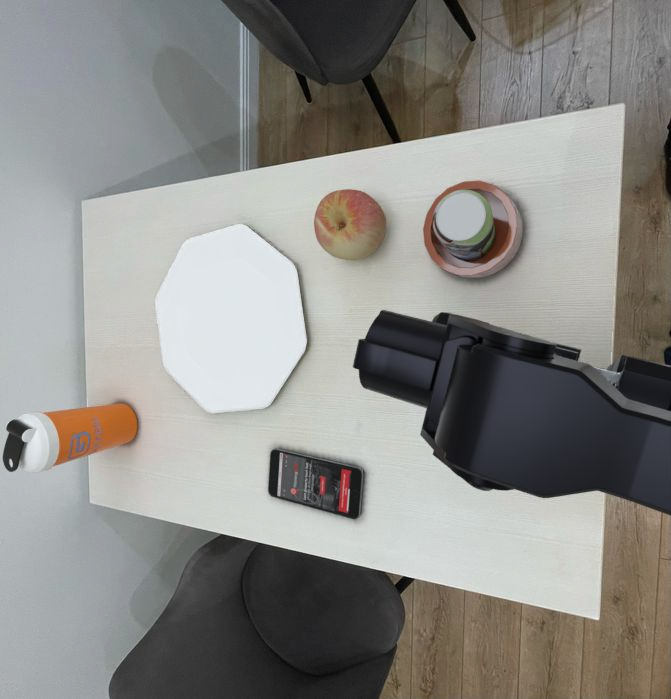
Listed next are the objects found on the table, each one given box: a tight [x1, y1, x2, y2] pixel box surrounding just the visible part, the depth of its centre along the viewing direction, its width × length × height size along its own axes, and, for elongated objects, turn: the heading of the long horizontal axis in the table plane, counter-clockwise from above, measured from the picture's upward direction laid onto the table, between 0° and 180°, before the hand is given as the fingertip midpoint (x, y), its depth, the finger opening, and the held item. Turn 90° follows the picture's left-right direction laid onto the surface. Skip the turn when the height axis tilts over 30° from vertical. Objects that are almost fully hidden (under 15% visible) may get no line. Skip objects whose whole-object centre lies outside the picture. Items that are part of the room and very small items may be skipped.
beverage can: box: [433, 190, 496, 261], centre depth 59 cm, size 6×7×12 cm
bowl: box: [422, 180, 524, 279], centre depth 63 cm, size 11×11×4 cm
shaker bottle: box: [2, 402, 139, 474], centre depth 86 cm, size 9×9×20 cm
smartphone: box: [267, 447, 365, 520], centre depth 77 cm, size 7×1×15 cm
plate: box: [154, 223, 309, 414], centre depth 82 cm, size 28×28×2 cm
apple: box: [313, 188, 387, 262], centre depth 68 cm, size 9×9×8 cm
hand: (550, 366), depth 50 cm, fingers open, 9 cm apart
